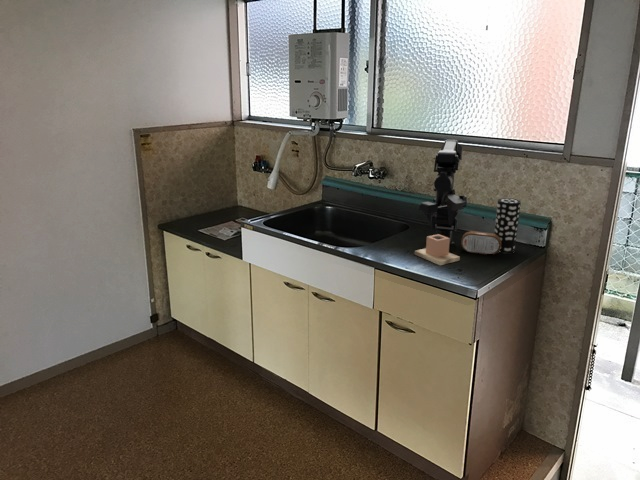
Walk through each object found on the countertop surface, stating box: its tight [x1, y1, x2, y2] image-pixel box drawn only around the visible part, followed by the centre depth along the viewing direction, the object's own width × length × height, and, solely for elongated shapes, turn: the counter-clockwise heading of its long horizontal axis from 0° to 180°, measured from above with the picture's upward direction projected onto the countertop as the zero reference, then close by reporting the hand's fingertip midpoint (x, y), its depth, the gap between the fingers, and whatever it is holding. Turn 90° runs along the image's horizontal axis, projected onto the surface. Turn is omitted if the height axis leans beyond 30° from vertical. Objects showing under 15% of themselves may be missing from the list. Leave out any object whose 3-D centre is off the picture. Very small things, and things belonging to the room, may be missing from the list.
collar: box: [425, 234, 450, 257], centre depth 197 cm, size 6×6×6 cm
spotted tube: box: [493, 197, 522, 253], centre depth 204 cm, size 8×8×20 cm
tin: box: [460, 230, 501, 255], centre depth 202 cm, size 15×3×8 cm, turn 70°
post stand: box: [414, 236, 461, 266], centre depth 197 cm, size 10×14×9 cm
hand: (441, 227), depth 195 cm, fingers open, 9 cm apart
